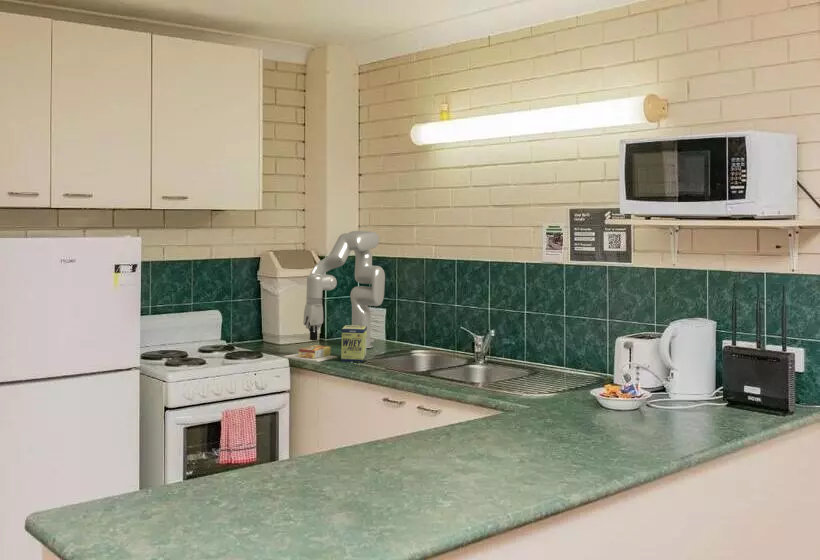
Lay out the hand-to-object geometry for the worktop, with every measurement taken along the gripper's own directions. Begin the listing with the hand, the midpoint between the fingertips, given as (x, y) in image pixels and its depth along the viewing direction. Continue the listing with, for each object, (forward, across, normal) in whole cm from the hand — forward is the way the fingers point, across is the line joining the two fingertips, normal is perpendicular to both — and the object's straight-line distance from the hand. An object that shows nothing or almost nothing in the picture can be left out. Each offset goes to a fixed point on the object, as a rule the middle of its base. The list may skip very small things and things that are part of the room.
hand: (313, 339), depth 429 cm
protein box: (+8, -6, +19) cm, 22 cm away
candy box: (+5, -7, 0) cm, 9 cm away
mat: (+8, +2, 0) cm, 8 cm away
